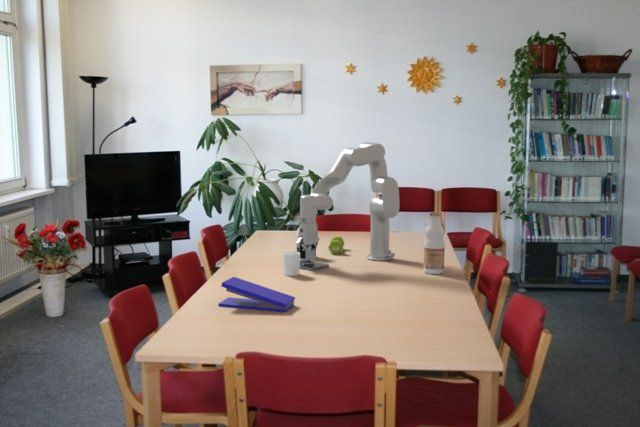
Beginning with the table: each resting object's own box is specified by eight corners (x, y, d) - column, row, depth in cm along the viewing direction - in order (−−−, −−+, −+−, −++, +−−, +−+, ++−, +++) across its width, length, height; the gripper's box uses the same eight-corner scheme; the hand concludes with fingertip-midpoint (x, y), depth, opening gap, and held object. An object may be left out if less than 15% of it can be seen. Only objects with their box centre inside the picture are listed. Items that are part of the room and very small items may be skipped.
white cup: (298, 276, 334) (298, 255, 332) (281, 276, 335) (281, 254, 334) (301, 273, 341) (302, 251, 340) (285, 272, 343) (285, 251, 341)
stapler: (229, 300, 294) (229, 276, 293) (295, 306, 287) (295, 281, 285) (217, 307, 283) (217, 282, 282) (286, 313, 276) (286, 288, 274)
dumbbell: (343, 255, 384) (343, 241, 383) (327, 254, 384) (327, 241, 383) (344, 249, 400) (344, 236, 399) (330, 248, 401) (330, 235, 400)
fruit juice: (419, 271, 346) (420, 212, 342) (434, 269, 351) (436, 211, 347) (432, 275, 338) (434, 215, 334) (448, 273, 343) (449, 213, 339)
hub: (318, 258, 356) (318, 248, 355) (308, 261, 350) (308, 250, 349) (306, 256, 360) (306, 246, 359) (297, 259, 354) (297, 249, 354)
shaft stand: (328, 266, 355) (328, 243, 353) (313, 270, 346) (313, 247, 344) (303, 262, 365) (303, 239, 363) (287, 266, 355) (287, 243, 354)
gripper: (302, 223, 343) (302, 261, 346) (325, 219, 357) (325, 255, 359) (290, 222, 348) (290, 259, 350) (313, 217, 361) (313, 253, 364)
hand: (307, 256), depth 355 cm, fingers closed on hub, 7 cm apart
